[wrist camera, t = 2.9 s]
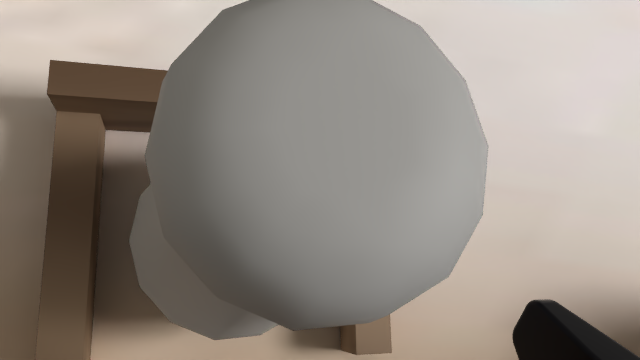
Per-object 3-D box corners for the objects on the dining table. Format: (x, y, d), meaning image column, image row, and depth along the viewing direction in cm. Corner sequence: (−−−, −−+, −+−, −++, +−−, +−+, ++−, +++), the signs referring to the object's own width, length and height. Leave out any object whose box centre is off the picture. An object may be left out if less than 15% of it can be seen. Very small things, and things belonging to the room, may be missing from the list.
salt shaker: (331, 204, 19) (620, 43, 7) (270, 359, 18) (513, 498, 5) (181, 134, 18) (214, -193, 6) (101, 291, 17) (-74, 274, 4)
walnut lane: (373, 348, 19) (410, 357, 16) (46, 365, 16) (20, 380, 13) (364, 119, 20) (395, 91, 18) (68, 98, 18) (50, 60, 15)
